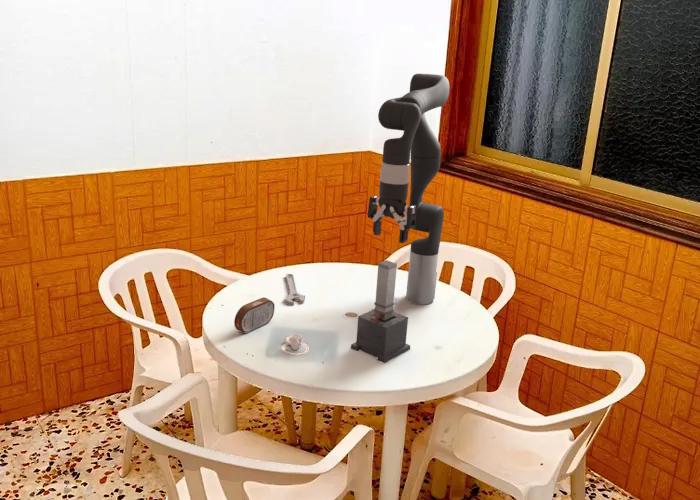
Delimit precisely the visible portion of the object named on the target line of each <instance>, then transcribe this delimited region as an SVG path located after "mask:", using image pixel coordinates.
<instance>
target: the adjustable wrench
mask: <svg viewBox="0 0 700 500" xmlns="http://www.w3.org/2000/svg"><path fill="white" fill-rule="evenodd" d="M285 279H287V280H286V283H288V284H287V287H289V288H288V291H290V292H289V294H288V295H286V297H285V299H284V300H285V301H284V302H285V303H286V305H288V306H291V307H292V306H293V307H294V306H295V302H297V301H298V303H299V304H300V305H304V304H305V302H306V301H305V300H306V295H304V294H300V293H299V292H298V290H297V287H296V282H295V276H294V274H293V273H287V274H286V275H285Z"/></svg>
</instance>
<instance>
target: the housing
mask: <svg viewBox="0 0 700 500" xmlns="http://www.w3.org/2000/svg"><path fill="white" fill-rule="evenodd" d="M374 309H375V308H374ZM374 309H371V310H369V311H366V312H364V313H362V314H360V315H358V316H357V329H356V342H354V343H352V344H351V345H350V348H351V350H354V351H357V352H358V351H361V352H363V353H365V354H368V355H370V356H372V357H375V358H376V359H377V362H380V363H382V364H386V363H388V362H390V361H391V360H393V359H395V358H397V357H398V356H401V355H402V354H404V353H406V352H408V351H410V350H411V345H410V344H408V343H406V342H407V333H408V325H409V324H408V323H409V317H408V316H406V315H403V314H401V313H398V312H396V311H394V312H393V314H392V316H393V319H392V320H390V321H388V322H382V321H380V320H379V316H377V315H374V314H375V312H374Z"/></svg>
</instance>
